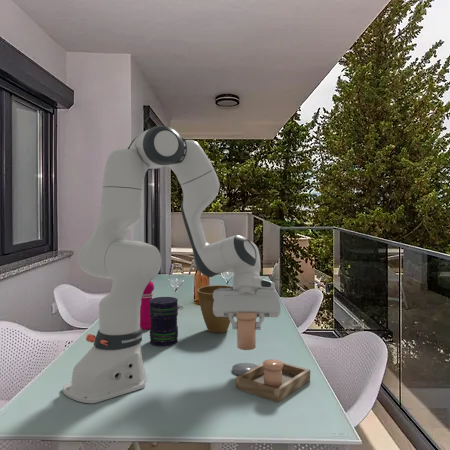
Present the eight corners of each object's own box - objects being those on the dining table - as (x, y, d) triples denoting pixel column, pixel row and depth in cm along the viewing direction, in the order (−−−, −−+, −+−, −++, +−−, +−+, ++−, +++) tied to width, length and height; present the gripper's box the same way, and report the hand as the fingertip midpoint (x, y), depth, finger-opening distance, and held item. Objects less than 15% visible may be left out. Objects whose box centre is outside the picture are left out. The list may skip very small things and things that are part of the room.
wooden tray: (277, 402, 110) (277, 390, 110) (235, 388, 118) (235, 377, 118) (310, 380, 123) (310, 369, 123) (270, 369, 131) (270, 359, 131)
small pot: (276, 395, 112) (276, 368, 111) (258, 390, 115) (259, 363, 115) (286, 388, 116) (286, 362, 116) (269, 383, 119) (269, 358, 119)
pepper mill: (152, 330, 169) (151, 278, 168) (134, 329, 170) (133, 277, 169) (158, 325, 176) (158, 275, 175) (141, 324, 177) (141, 274, 176)
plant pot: (211, 323, 179) (211, 283, 178) (243, 328, 172) (243, 287, 171) (189, 332, 167) (189, 290, 166) (223, 339, 159) (223, 295, 158)
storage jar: (158, 336, 162) (158, 295, 161) (182, 339, 159) (182, 298, 158) (144, 344, 153) (143, 301, 152) (169, 348, 149) (169, 304, 148)
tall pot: (248, 351, 126) (248, 317, 125) (232, 347, 130) (232, 313, 129) (260, 346, 131) (260, 312, 130) (244, 341, 134) (244, 309, 134)
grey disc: (249, 378, 125) (249, 375, 125) (226, 371, 130) (226, 368, 129) (264, 369, 131) (264, 367, 131) (242, 363, 136) (242, 360, 136)
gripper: (212, 282, 136) (209, 323, 127) (279, 282, 135) (281, 324, 126) (214, 293, 141) (211, 333, 132) (278, 294, 140) (280, 334, 131)
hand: (246, 328), depth 129 cm, fingers closed on tall pot, 5 cm apart
